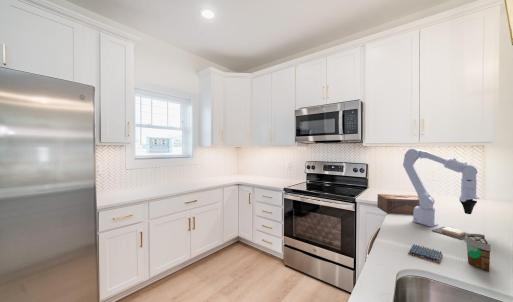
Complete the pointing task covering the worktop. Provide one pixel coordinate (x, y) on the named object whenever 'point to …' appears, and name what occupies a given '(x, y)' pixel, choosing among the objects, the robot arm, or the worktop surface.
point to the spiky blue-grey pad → (426, 253)
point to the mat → (439, 230)
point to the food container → (478, 251)
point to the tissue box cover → (397, 203)
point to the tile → (453, 231)
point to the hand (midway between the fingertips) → (468, 213)
